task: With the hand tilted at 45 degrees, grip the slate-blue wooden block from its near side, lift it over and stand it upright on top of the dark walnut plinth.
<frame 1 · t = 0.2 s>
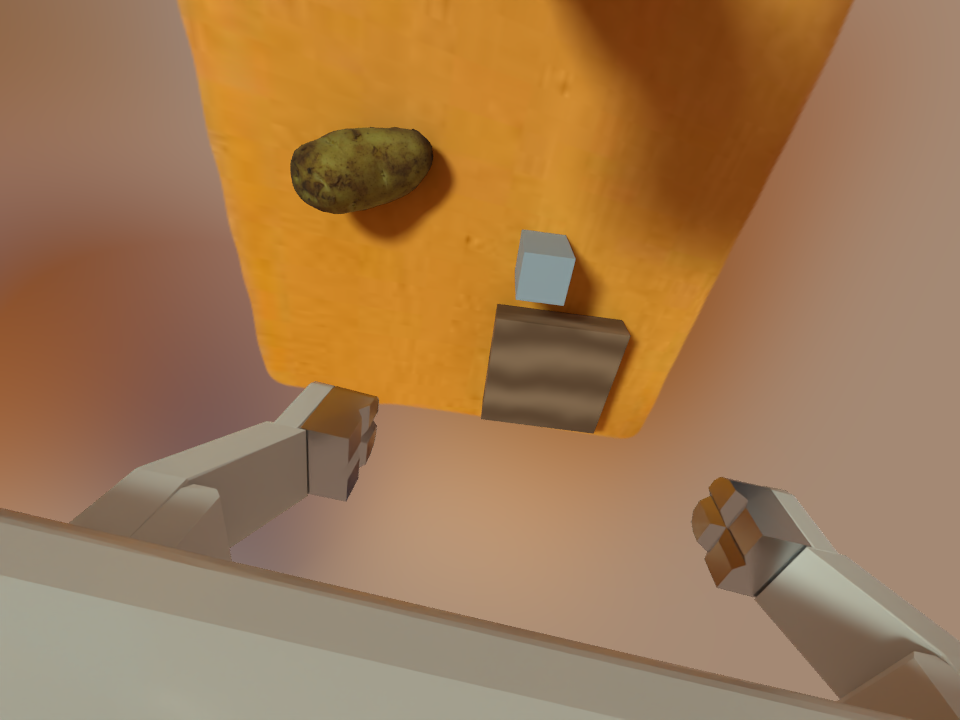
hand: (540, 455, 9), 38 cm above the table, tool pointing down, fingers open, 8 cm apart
potato: (376, 166, 42), on the table
plinth: (546, 363, 54), on the table
block: (539, 253, 45), on the table
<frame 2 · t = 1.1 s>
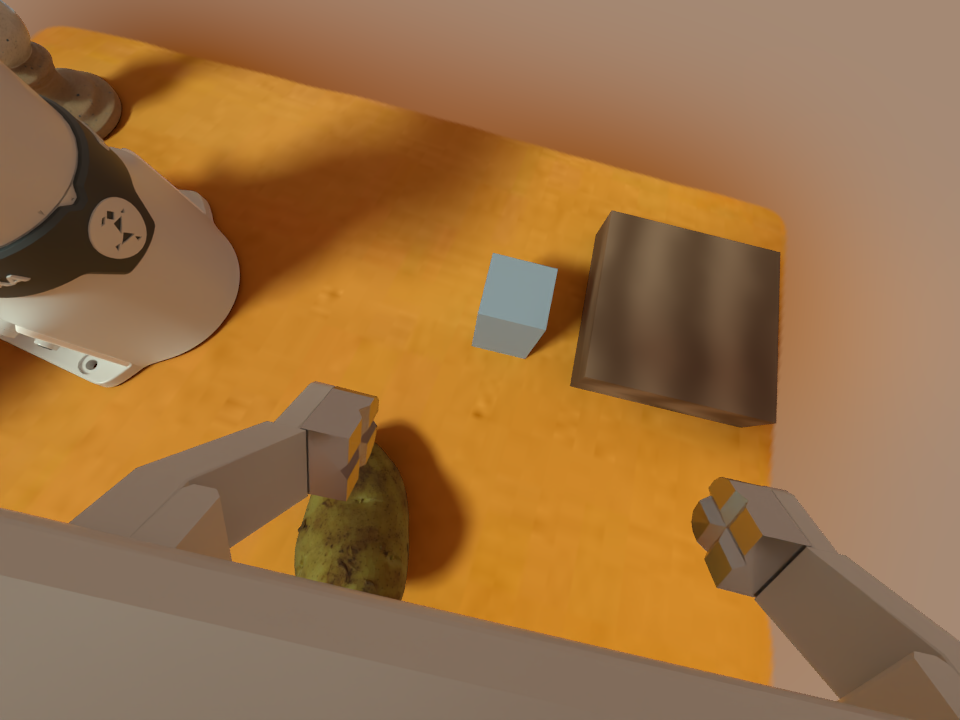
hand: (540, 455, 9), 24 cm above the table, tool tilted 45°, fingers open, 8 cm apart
potato: (369, 523, 31), on the table
plinth: (664, 326, 37), on the table
block: (504, 327, 36), on the table
candle holder: (77, 116, 39), on the table
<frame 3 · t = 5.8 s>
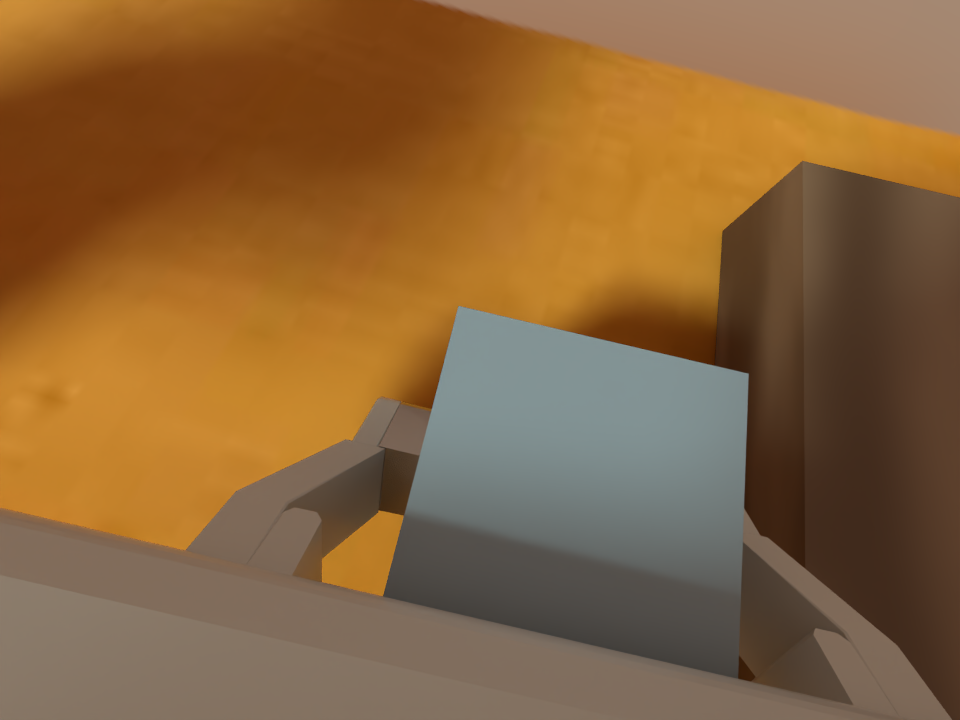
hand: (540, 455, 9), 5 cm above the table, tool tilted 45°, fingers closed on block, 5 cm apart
plinth: (919, 459, 15), on the table
block: (509, 477, 14), on the table, touching gripper
when the fingers open (10 cm above the table, at t = 12.6 s): block drops 1 cm, resting on plinth.
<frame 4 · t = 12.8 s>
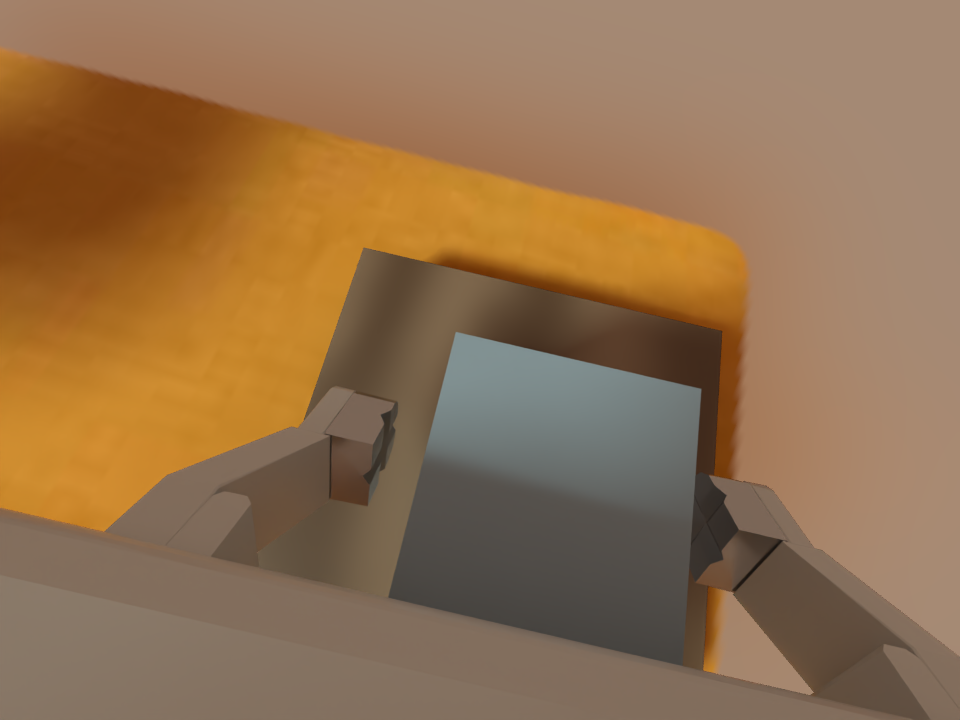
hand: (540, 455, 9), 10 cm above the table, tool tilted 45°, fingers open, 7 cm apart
plinth: (495, 474, 19), on the table
block: (504, 477, 15), point 4 cm above the table, touching plinth
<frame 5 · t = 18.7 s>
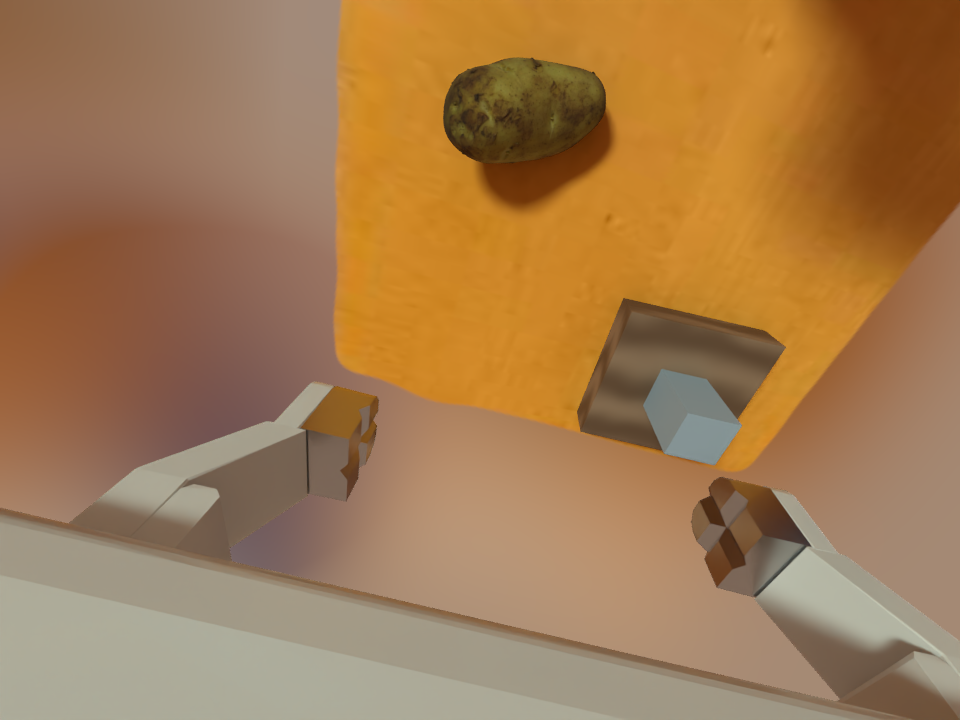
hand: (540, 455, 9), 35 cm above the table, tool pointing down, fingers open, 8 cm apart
potato: (524, 118, 36), on the table
plinth: (663, 374, 47), on the table
block: (673, 392, 43), point 4 cm above the table, touching plinth
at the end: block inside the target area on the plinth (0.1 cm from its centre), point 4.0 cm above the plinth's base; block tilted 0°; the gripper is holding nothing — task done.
